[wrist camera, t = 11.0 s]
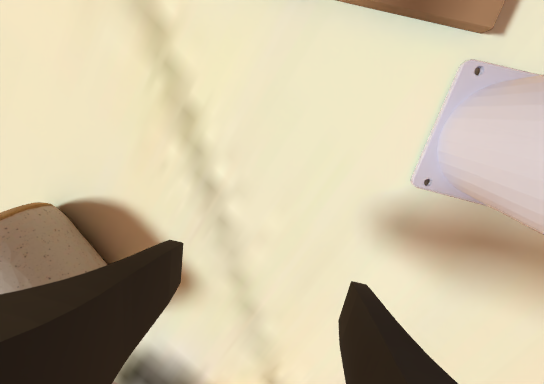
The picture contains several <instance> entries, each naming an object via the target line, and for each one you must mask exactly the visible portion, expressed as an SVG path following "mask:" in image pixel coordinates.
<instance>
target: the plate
mask: <svg viewBox="0 0 544 384" xmlns="http://www.w3.org/2000/svg"><path fill="white" fill-rule="evenodd" d="M337 1H342V2H346V3H350V4H355V5H359V6H363V7H368V8H372V9H377V10H381V11H385V12H390V13H394V14H398V15H403V16H407V17H411V18H416V19H420V20H425V21H429V22H433V23H438V24H442V25H446V26H451V27H455V28H460V29H464V30H468V31H473V32H477V33H483V32H485V31H488V30H490V29H492V28H493V27H494V24H495V22H496V20H497V18H498V15H499V13H500V11H501V9H502V7H503V4H504V2H505V0H337Z"/></svg>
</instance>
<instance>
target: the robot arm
mask: <svg viewBox="0 0 544 384" xmlns="http://www.w3.org/2000/svg"><path fill="white" fill-rule="evenodd" d="M476 67H478V68H479V69H480V73H479V74H478V75H475V73H474V71H475V69H476ZM426 179H429V180H430V182H429V183H428V184H427V185H424V181H425V180H426ZM411 183H412V184H413V185H414V186H415V187H418V188H421V189H425V190H429V191H433V192H437V193H440V194H444V195H448V196H452V197H456V198H459V199H463V200H467V201H471V202H475V203H478V204H482V205H486V206H490V207H492V208H494V209H496V210H497V211H499V212H501V213H503V214H505V215H507V216H509V217H511V218H513V219H515V220H517V221H518V222H520V223H522V224H524V225H526V226H528V227H530V228H532V229H534V230H536V231H538V232H540V233H541V234H543V235H544V75H538V74H534V73H529V72H525V71H521V70H517V69H512V68H508V67H504V66H500V65H495V64H491V63H487V62H482V61H478V60H468V61H465V62H463V63H462V64H461V65H460V67H459V68H458V71H457V73H456V75H455V78H454V80H453V82H452V85H451V87H450V89H449V91H448V94H447V96H446V98H445V101H444V103H443V105H442V108H441V110H440V112H439V115H438V117H437V119H436V121H435V124H434V126H433V128H432V131H431V133H430V135H429V138H428V140H427V142H426V145H425V147H424V149H423V152H422V154H421V156H420V158H419V161H418V163H417V165H416V168H415V170H414V172H413V175H412V177H411ZM182 254H183V243H182V242H177V241H173V240H168V241H165V242H163V243H160V244H158V245H155V246H153V247H151V248H148V249H146V250H144V251H141V252H139V253H136V254H134V255H132V256H129V257H127V258H124V259H122V260H119V261H117V262H114V263H111V264H109V265H106V266H103V267H101V268H98V269H95V270H92V271H89V272H86V273H83V274H80V275H77V276H74V277H70V278H67V279H64V280H60V281H56V282H52V283H48V284H44V285H40V286H36V287H32V288H28V289H23V290H19V291H14V292H9V293H4V294H0V384H112V382H113V381H114V379H115V378H116V376H117V374H118V373H119V371H120V370H121V368H122V366H123V365H124V363H125V362H126V360H127V359H128V357H129V356H130V355H131V353H132V352H133V350H134V349H135V348H136V346H137V345H138V344H139V342H140V341H141V340H142V338H143V337H144V336H145V334H146V333H147V332H148V331H149V329H150V328H151V327H152V325H153V324H154V323H155V321H156V320H157V319H158V317H159V316H160V314H161V313H162V312H163V310H164V309H165V308H166V306H167V305H168V304H169V302H170V300H171V298H172V297H173V295H174V293H175V292H176V290H177V288H178V286H179V284H180V282H181V269H182ZM339 341H340V350H341V357H342V363H343V369H344V375H345V380H346V384H458V383H457V382H456V381H455V380H453V379H452V378H451V377H450V376H449V375H448V374H447V373H446V372H445V371H444V370H443V369H442V368H441V367H440V366H439V365H438V364H437V363H436V362H434V361H433V360H432V359H431V358H430V357H429V356H428V355H427V354H426V353H425V352H424V350H423V349H422V348H421V347H420V346H419V345H418V344H417V343H416V342H415V341H414V340H413V339H412V338H411V337H410V336H409V334H408V333H407V332H406V331H405V330H404V329H403V328H402V326H401V325H400V324H399V323H398V322H397V321H396V320H395V318H394V317H393V316H392V315H391V314H390V312H389V311H388V310H387V309H386V308H385V306H384V305H383V304H382V303H381V301H380V300H379V299H378V298H377V297H376V295H375V294H374V293H373V292H372V290H371V289H370V288H369V287H368V286H367V285H366V284H361V283H357V282H353V281H351V284H350V287H349V290H348V293H347V296H346V299H345V302H344V305H343V308H342V311H341V314H340V318H339Z"/></svg>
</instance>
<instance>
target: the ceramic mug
mask: <svg viewBox="0 0 544 384" xmlns="http://www.w3.org/2000/svg"><path fill="white" fill-rule="evenodd" d="M106 265H107V264H106V262H105V261H104V260H103V259H102V258H101V257H100V255H99V254H98V253H97V252H96V251H95V249H94V248H93V247H92V246H91V245H90V243H89V242H88V241H87V240H86V239H85V238H84V237H83V236H82V234H81V233H80V232H79V231H78V230H77V228H76V227H75V226H74V225H73V223H72V222H71V221H70V220H69V218H68V217H67V216H66V215H65V214H63V213H62V212H61V211H60V210H59V209H58V208H56V207H55V206H53V205H52V204H48V203H39V202H38V203H31V204H26V205H22V206H19V207H16V208H13V209H10V210H7V211H4V212H1V213H0V294H4V293H9V292H14V291H19V290H23V289H28V288H32V287H36V286H40V285H44V284H48V283H52V282H56V281H60V280H64V279H67V278H70V277H74V276H77V275H80V274H83V273H86V272H89V271H92V270H95V269H98V268H101V267H103V266H106Z"/></svg>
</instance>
